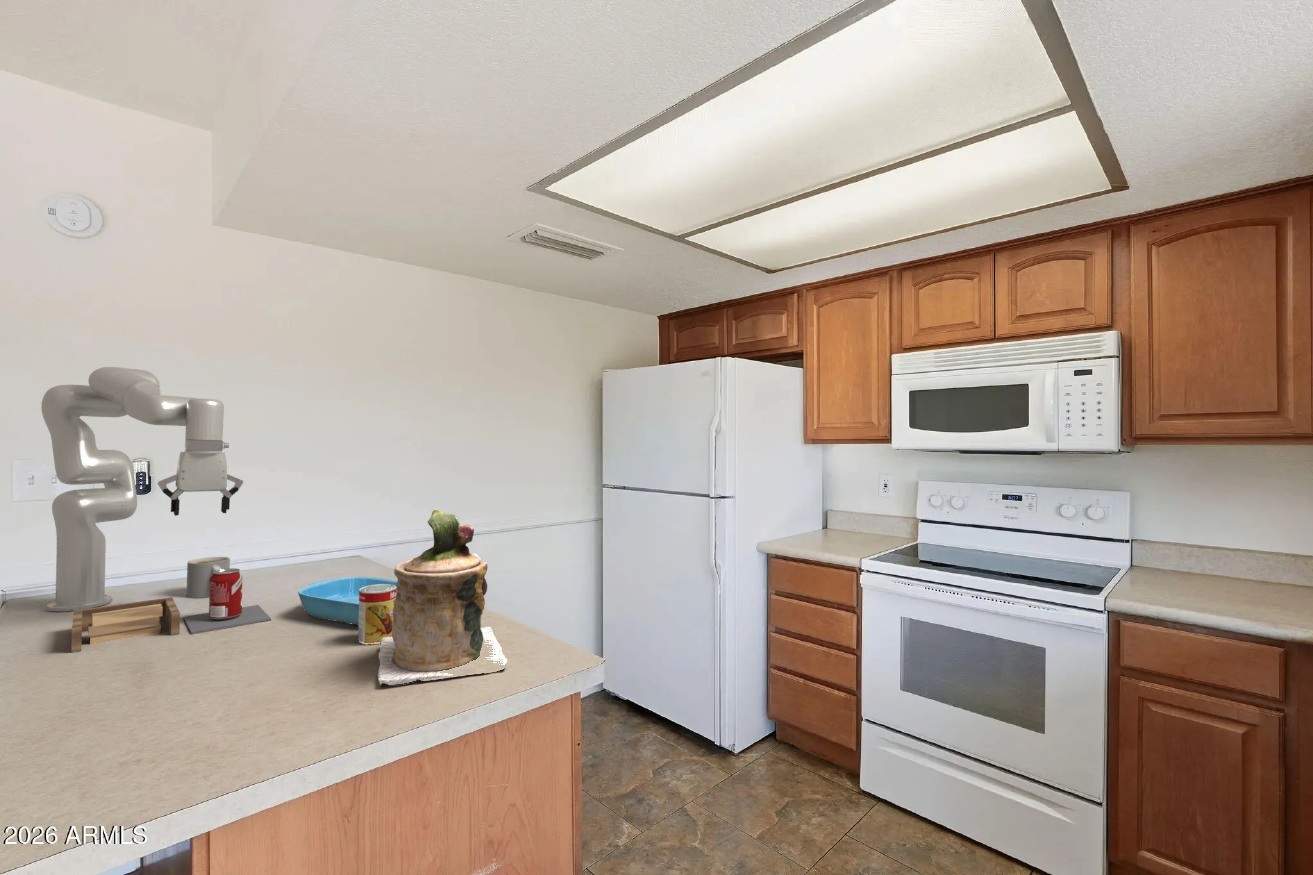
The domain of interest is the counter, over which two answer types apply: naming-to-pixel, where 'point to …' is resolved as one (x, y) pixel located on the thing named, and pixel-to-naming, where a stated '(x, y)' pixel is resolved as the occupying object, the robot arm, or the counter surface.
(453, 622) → the cookie jar
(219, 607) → the soda can
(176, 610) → the frame
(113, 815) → the counter surface
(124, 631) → the offcut stack
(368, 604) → the canned food
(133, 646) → the counter surface
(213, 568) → the coffee mug
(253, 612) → the rubber mat
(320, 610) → the casserole dish
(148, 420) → the robot arm
